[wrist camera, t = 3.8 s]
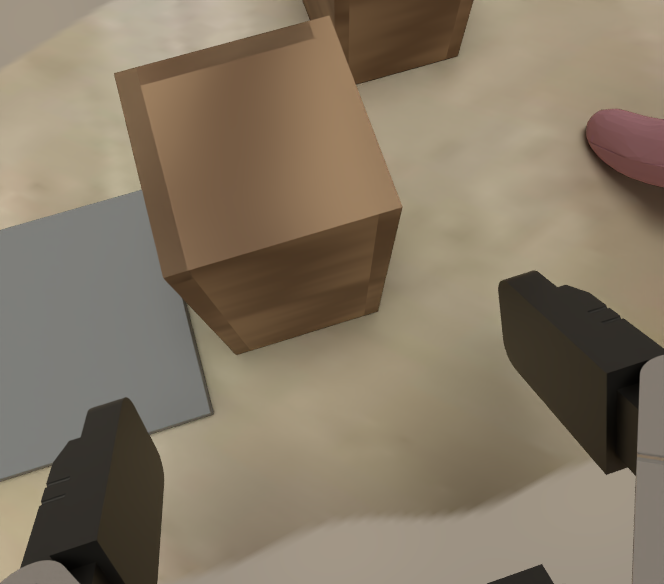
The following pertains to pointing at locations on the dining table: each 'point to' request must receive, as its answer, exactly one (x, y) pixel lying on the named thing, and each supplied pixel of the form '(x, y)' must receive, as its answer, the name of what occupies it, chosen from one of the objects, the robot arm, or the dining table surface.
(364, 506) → the dining table surface
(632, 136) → the video game controller
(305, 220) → the brown rectangular block
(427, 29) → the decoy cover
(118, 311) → the slate mat
